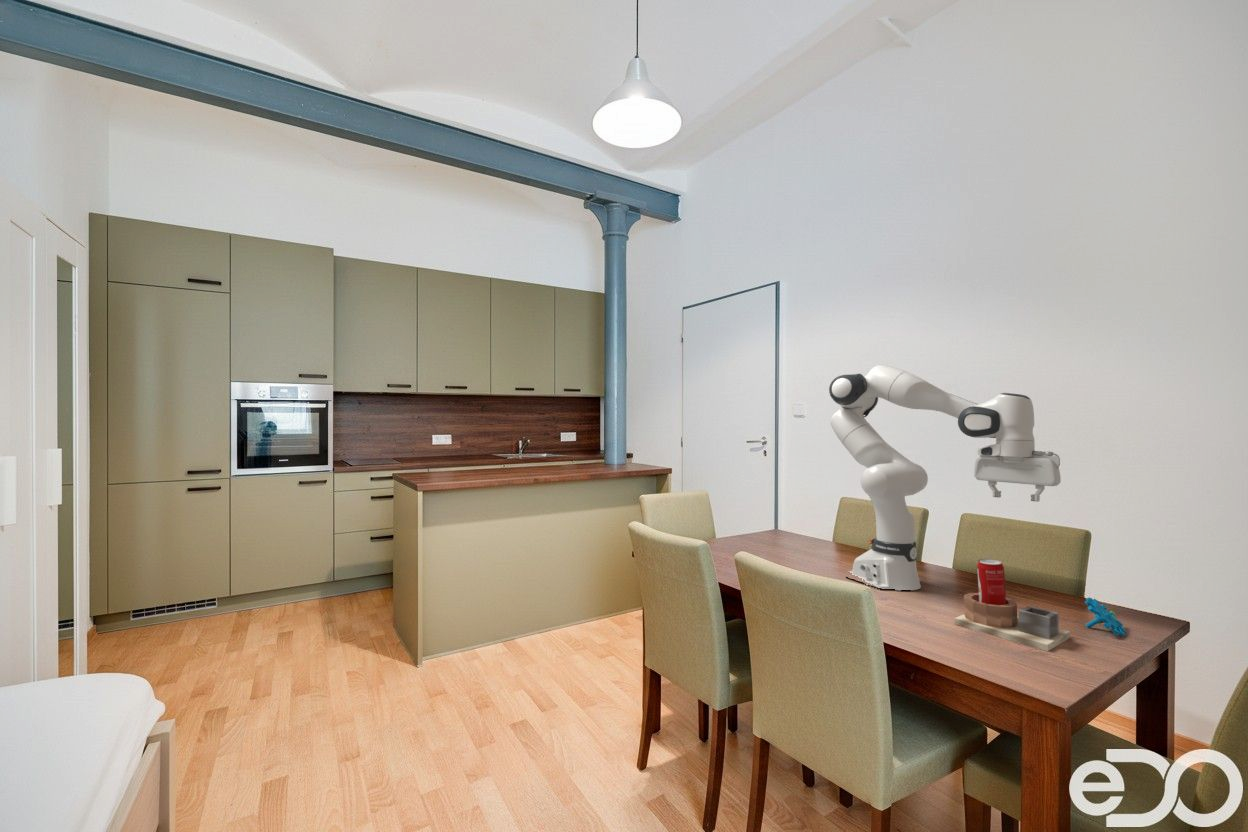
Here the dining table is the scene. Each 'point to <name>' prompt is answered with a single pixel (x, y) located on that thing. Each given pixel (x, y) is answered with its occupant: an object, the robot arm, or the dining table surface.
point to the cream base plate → (1013, 622)
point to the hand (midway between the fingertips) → (1015, 499)
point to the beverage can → (991, 582)
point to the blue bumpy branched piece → (1104, 617)
